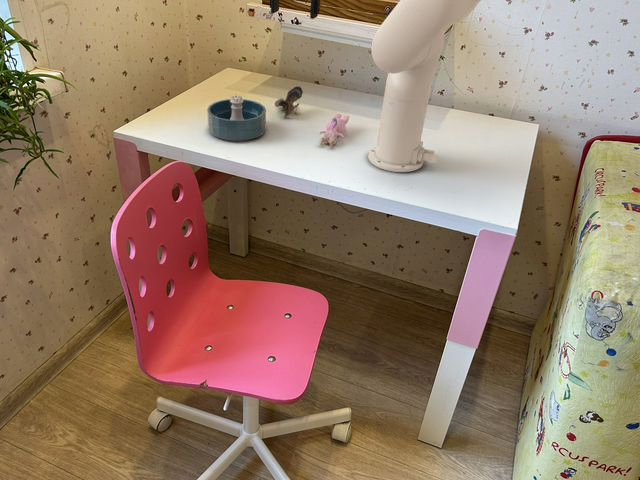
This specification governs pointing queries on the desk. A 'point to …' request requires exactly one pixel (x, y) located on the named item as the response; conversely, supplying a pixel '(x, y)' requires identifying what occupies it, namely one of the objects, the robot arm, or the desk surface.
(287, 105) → the eagle figurine
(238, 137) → the bowl
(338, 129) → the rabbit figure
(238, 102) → the rook chess piece
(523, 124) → the desk surface
